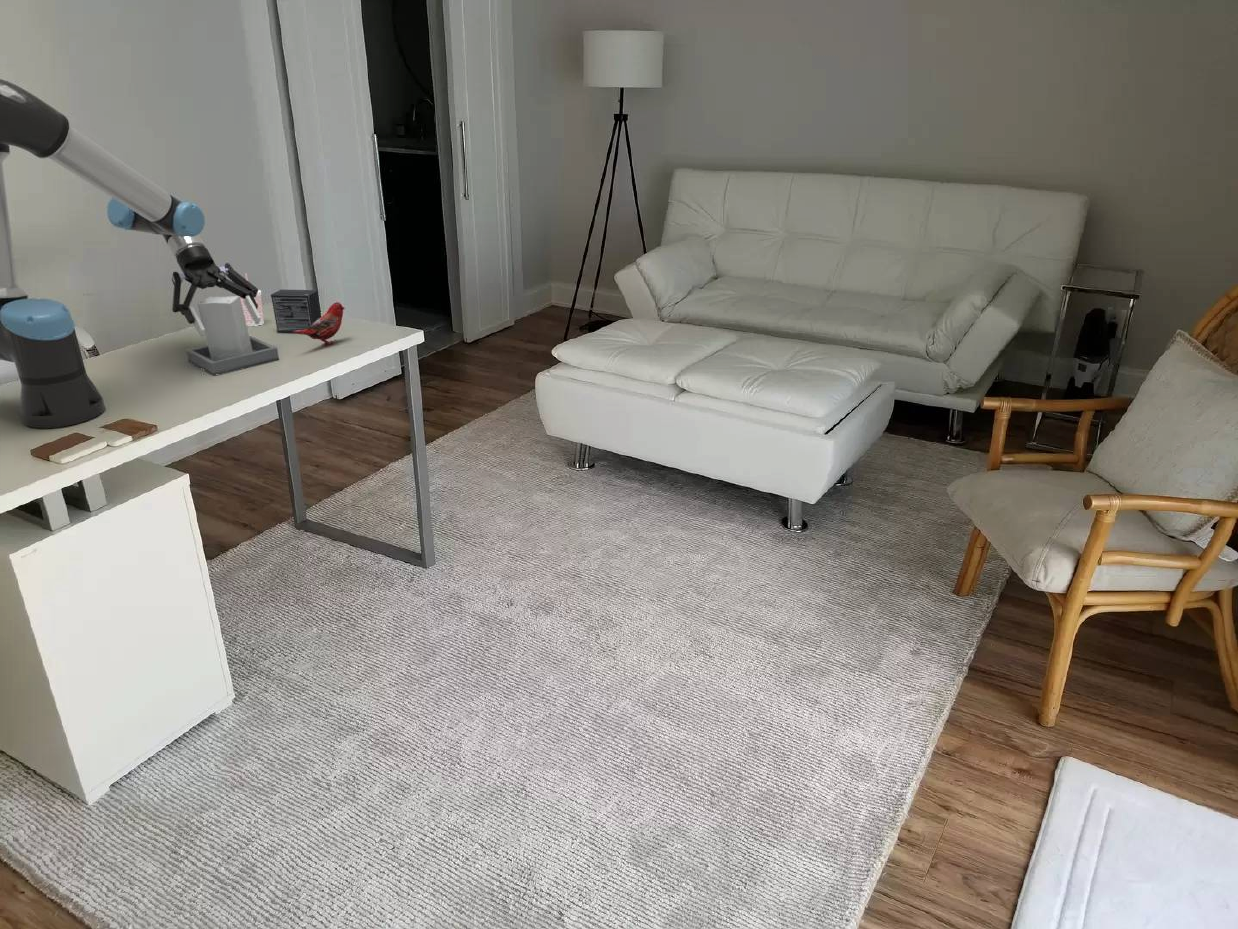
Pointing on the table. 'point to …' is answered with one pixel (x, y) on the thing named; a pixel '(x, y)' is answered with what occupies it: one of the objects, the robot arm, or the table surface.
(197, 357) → the tray
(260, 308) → the beverage cup
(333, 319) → the decorative bird figurine
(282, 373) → the table surface
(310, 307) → the small box
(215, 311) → the skincare box
